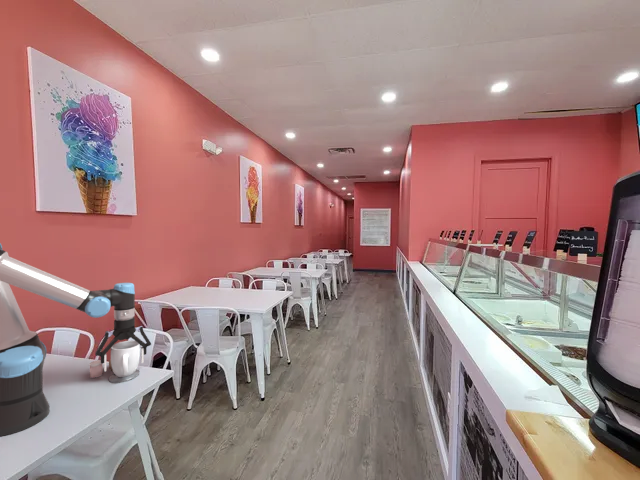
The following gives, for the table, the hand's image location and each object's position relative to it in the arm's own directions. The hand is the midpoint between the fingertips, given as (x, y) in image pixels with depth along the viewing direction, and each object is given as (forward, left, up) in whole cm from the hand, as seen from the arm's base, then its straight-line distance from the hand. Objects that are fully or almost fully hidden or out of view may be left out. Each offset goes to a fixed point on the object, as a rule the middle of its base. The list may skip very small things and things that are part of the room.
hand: (124, 366), depth 125 cm
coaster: (0, 0, -5) cm, 5 cm away
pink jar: (-10, +8, -5) cm, 14 cm away
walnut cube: (-3, +12, -5) cm, 13 cm away
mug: (0, 0, -4) cm, 4 cm away
